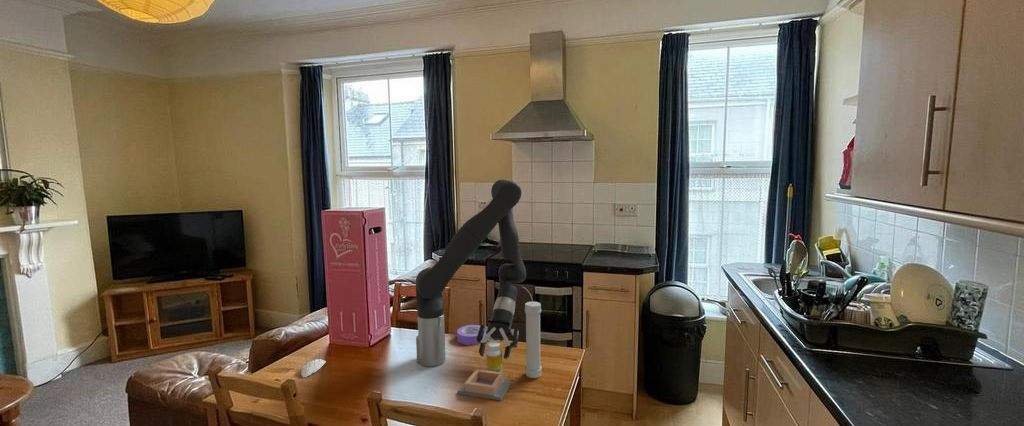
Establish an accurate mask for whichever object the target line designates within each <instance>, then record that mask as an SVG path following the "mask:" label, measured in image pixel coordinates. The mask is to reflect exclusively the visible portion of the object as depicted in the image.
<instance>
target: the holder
mask: <svg viewBox="0 0 1024 426" xmlns="http://www.w3.org/2000/svg"><path fill="white" fill-rule="evenodd" d="M511 385H512V380H507V379H505V373H504V372H494V371H487V369H478V368H477V369H475V370H474V372H473V373H472V374H470V375H469V376H468V378H467V379H466V380H465V381H464V382H463V384H462V385H461V386H460V387H459V388H458V389H457V394H459V395H465V396H471V397H476V398H483V399H489V400H493V401H500V402H502V400H503V399H504V396H505V395H506V393H507V391H508V390H509V388H510V387H511Z"/></svg>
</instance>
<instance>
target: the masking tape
mask: <svg viewBox="0 0 1024 426" xmlns="http://www.w3.org/2000/svg"><path fill="white" fill-rule="evenodd" d="M480 326H481V324H480V325H477V324H466V325H464V326H461V327H460V328H458V329H457V331H456V337H457V338H456V340H457V342H458V343H460V344H462V345H465V346H466V345H467V346H473V345H474V346H475V345H480V343H478V341H477V340H476V338H477V335H478V332H479V329H480ZM486 334H487V331H486V332H485V333H484V335H483V338H484V337H485V335H486Z"/></svg>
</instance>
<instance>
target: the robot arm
mask: <svg viewBox="0 0 1024 426" xmlns="http://www.w3.org/2000/svg"><path fill="white" fill-rule="evenodd" d="M490 194H491V198H492V199H491V201H490V202H489V203H488V204H487V206H485V207H484V208H483V209H482V210H481V211H479V212H478V213H476V214H475V215H473V216H471V218H469V219H468V220H467V221H466V222H464V223H463V225H462V226H461V227H460V228H459V229H458V230H457V231H456V232H455V233H454V235H453V237H452V238H451V240H450V241H449V242H448V245H447V247H446V249H445V251H444V253H443V254H442V256H441V257H440V259H439V260H438V261H437V262H436V263H435V264H434V265H433V267H432V268H431V267H428V268H424V269H422V270H420V271H419V272H418V273H417V275H416V276H415V277H416V278H415V297H416V310H417V311H416V312H417V314H416V315H417V334H418V335H417V336H416V337H415V345H416V348H415V349H416V363H418V364H419V365H422V366H424V367H436V366H440V365H442V364H443V363H445V361H446V335H445V334H446V333H445V306H444V299H443V292H444V290H445V289H446V288H447V286H448V284H449V283H450V281H451V280H452V278H453V277H454V275H455V274H456V273H457V272H458V270H459V269H460V268H461V267H462V266H463V265H465V263H466V262H467V261H468V259H469V258H470V257H471V256H472V255H473V254H474V253H475V251H476V250H477V249H478V248H479V247H480V245H481V244H482V243H483V242H484V241H485V240H486V238H487V237H488V235H490V233H491V232H492V231H493V229H495V227H496V226H497V225H498V231H499V240H500V250H501V253H500V254H501V257H502V259H504V260H506V261H509V262H512V263H503V264H501V265H500V266H499V268H498V283H499V284H498V292H497V296H496V300H495V303H494V305H493V309H492V310H493V311H492V314H491V318H490V323H489V325H488V326H486V325H484V324H480V329H479V332H478V335H477V338H476V340H477V341H478V343H480V344H479V348H478V354H479V355H480V356H481V357H484V355H485V350H486V346H487V345H488V344H489V343H490V342H492V341H499V342H503V341H504V343H505V344H506V346H505V349H504V353H503V359H504V360H508V359H509V358H510V355H511V351H512V349H513V348H518V344H519V335H520V331H519V329H518V328H517V327H515V328H512V325H513V319H514V315H515V309H516V302H517V297H518V292H519V291H518V288H517V286H515V285H513V284H510V283H516V284H517V283H518V284H519V283H523V282H525V280H526V277H527V269H526V266H525V264H524V261H523V258H522V256H521V248H520V237H519V233H518V230H517V227H516V223H515V220H514V215H513V209H514V207H515V206H516V205H518V203H519V201H520V200H521V198H522V188H521V186H520V185H519V184H518V183H517V182H515V181H512V180H509V179H503V178H502V179H498V180H496V181H495V182H494V183H493V184H492V186H491V193H490ZM485 332H486V335H485V337H484V338H483V335H484V333H485ZM510 335H511V336H512V342H510V340H509V338H508V337H509V336H510Z"/></svg>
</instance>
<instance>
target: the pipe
mask: <svg viewBox="0 0 1024 426" xmlns="http://www.w3.org/2000/svg"><path fill="white" fill-rule="evenodd" d="M521 287H522V288H523V289H525V290H526V291H527V293H529V296H530V297H531V301H527V302H526V303H524V313H525V345H526V346H525V349H526V350H525V354H526V355H525V357H526V358H525V359H526V365H525V367H524V368H525V376H526V377H527V378H530V379H538V378H541V376H542V369H543V367H542V365H541V361H542V360H541V313H542V304H541V302H538V301H534V300H533V296H532V294H531V293H530V291H529V290H528V289H527V288H526V287H524V286H521Z"/></svg>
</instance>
